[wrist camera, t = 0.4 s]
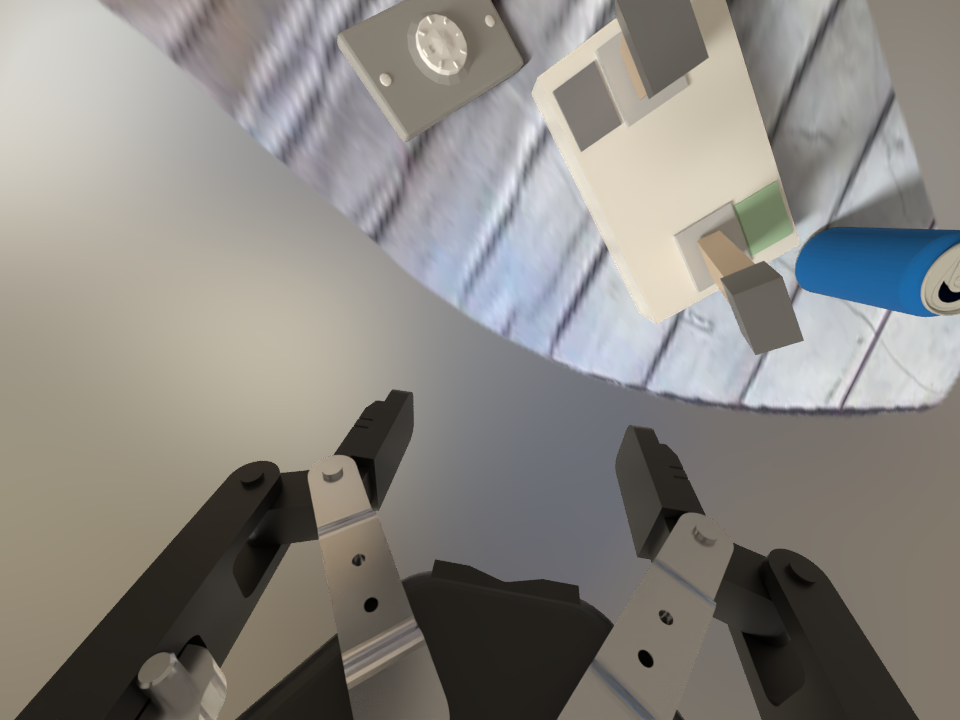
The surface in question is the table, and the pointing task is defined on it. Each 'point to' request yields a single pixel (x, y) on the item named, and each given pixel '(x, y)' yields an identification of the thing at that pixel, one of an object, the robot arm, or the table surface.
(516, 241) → the table surface
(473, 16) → the light switch
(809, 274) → the beverage can
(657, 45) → the lever charcoal
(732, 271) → the tan lever
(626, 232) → the switch unit
